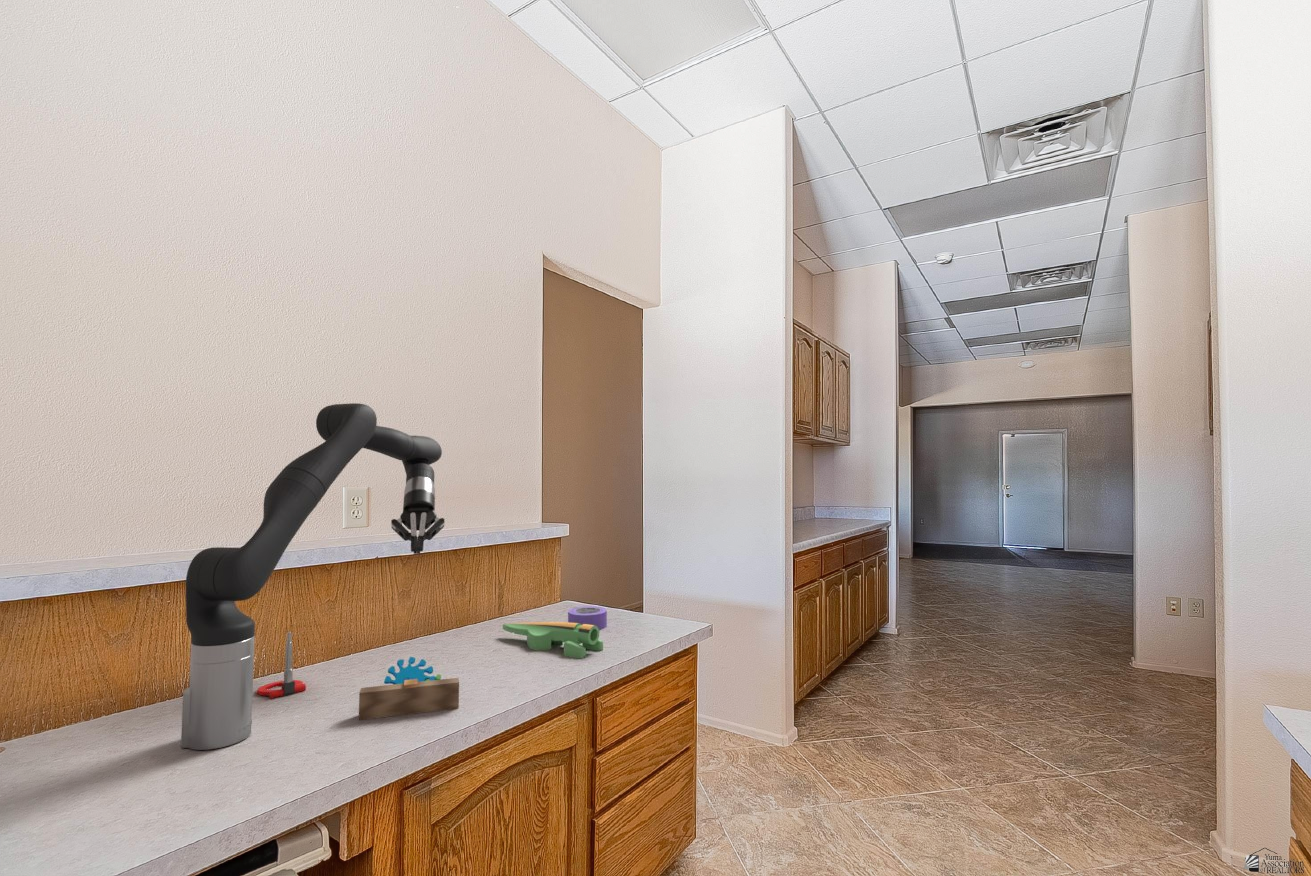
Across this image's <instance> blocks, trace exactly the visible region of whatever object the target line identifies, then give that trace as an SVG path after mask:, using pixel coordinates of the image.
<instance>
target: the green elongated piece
mask: <svg viewBox="0 0 1311 876" xmlns="http://www.w3.org/2000/svg"><path fill="white" fill-rule="evenodd" d="M502 630H503V631H506V632H508V633H511V634H512V633H514V634H516V635H520V636H525V637H526V645H527V647H528V648H530V649H531V650H533V651H545V650H547V649H548V650H552V644H556V645H561V646H563V656H564V657H568V656H569V657H570V658H575V659H583V658H586V657H587V655H586V653H587V650H591V651H599V652H600V651H603V650H604V641H603V640H602V639H600V630H599V628H598V627H597V626H595V625H588V624H583V625H582V624H580V623H568V621H567V622H566V621H562V622H561V621H549V622H548V621H546V622H545V621H542V622H537V621H536V622H517V623H503V624H502Z"/></svg>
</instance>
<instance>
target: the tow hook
mask: <svg viewBox="0 0 1311 876" xmlns="http://www.w3.org/2000/svg"><path fill="white" fill-rule="evenodd" d="M284 664H285V665H284V667H285V668H284V670H283V680H280V681H275V682H270V683H267V684H264V685H261V686H259V687H258V688H257V689H256V693H257V695H260V696H268V697H269V698H270V699H275V698H279V696H280V697H285V696H284V695H286V696H289V694H290V695H293V693H294V694H295V693H299V692H303V691H304V692H305V691H306V690H307V684H306V683H304V682H303V681H301V680H298V679H293V675H294V673H293V672H294V671H293V669H294V668H293V641H292V631H287V633H286V642H285V663H284ZM276 686H278V687H281V688H280V689H273V687H274V688H277V687H276ZM267 689H268V690H267ZM274 697H275V698H274Z"/></svg>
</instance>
